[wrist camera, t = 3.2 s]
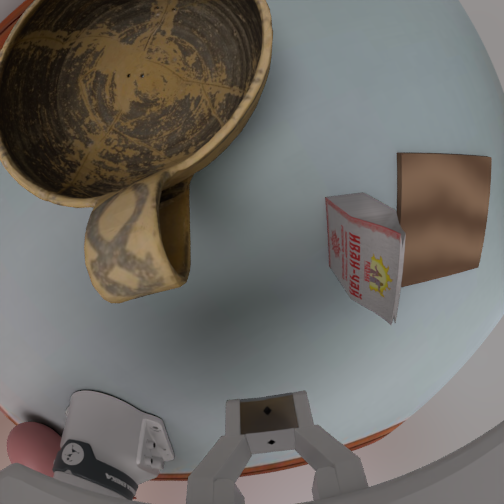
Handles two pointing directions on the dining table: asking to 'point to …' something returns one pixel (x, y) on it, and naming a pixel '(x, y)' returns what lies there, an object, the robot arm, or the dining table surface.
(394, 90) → the dining table surface
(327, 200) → the white red-printed box
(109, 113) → the ceramic bowl
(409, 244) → the walnut board
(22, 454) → the balloon
